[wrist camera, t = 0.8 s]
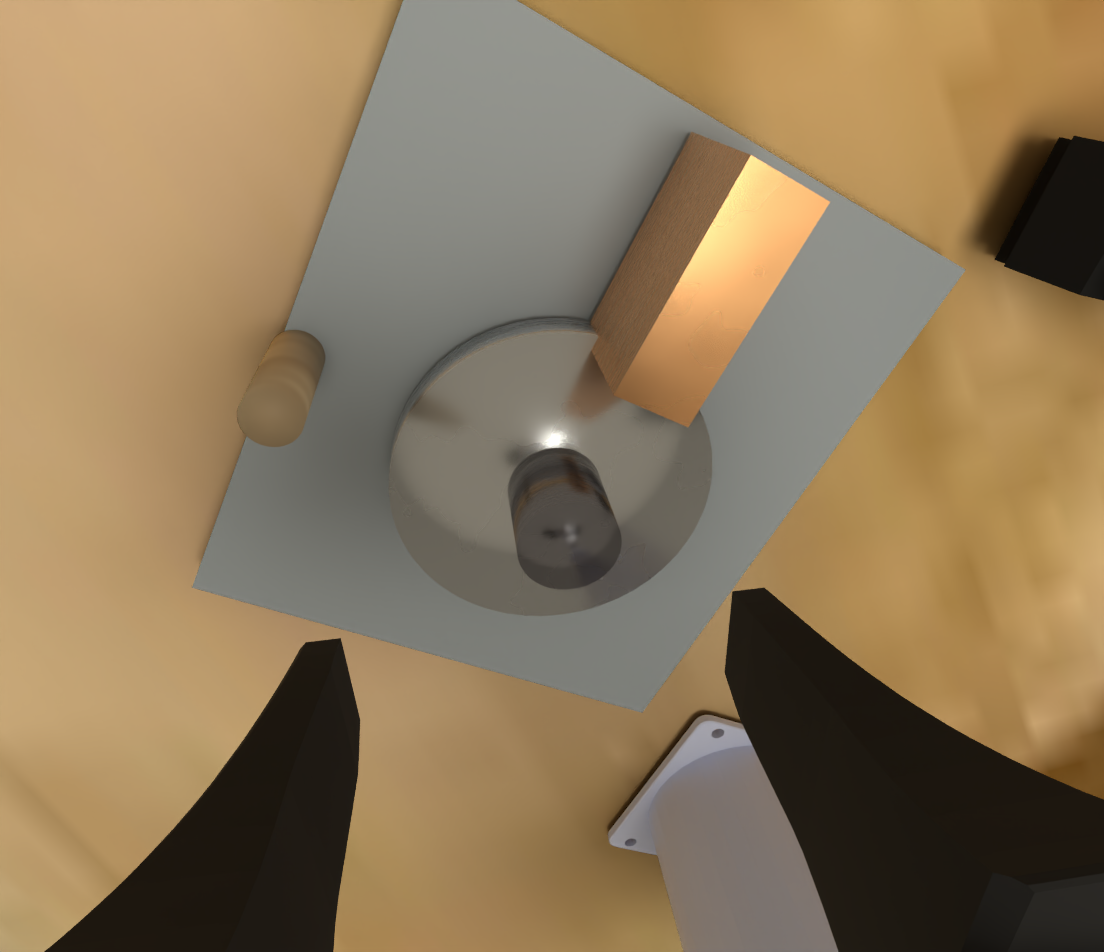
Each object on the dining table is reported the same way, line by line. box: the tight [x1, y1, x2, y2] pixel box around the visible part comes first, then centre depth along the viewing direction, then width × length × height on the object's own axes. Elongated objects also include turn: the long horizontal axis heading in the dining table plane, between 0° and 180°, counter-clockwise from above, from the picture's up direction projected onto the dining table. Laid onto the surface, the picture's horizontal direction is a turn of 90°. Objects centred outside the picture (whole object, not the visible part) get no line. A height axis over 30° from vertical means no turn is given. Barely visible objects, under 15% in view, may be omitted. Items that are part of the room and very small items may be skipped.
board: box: [192, 0, 965, 712], centre depth 23 cm, size 16×18×1 cm
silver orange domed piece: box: [388, 132, 830, 616], centre depth 20 cm, size 14×9×4 cm, turn 153°
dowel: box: [237, 330, 325, 447], centre depth 18 cm, size 1×1×4 cm
